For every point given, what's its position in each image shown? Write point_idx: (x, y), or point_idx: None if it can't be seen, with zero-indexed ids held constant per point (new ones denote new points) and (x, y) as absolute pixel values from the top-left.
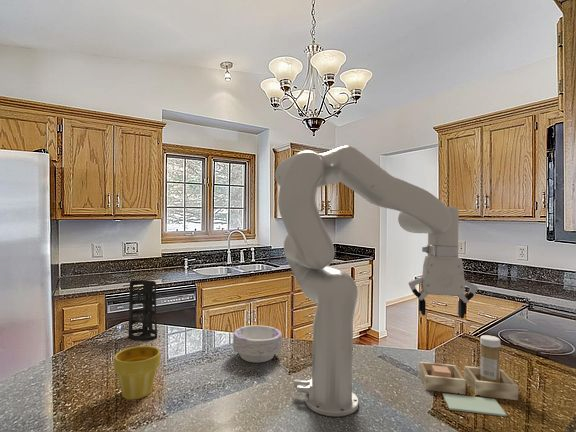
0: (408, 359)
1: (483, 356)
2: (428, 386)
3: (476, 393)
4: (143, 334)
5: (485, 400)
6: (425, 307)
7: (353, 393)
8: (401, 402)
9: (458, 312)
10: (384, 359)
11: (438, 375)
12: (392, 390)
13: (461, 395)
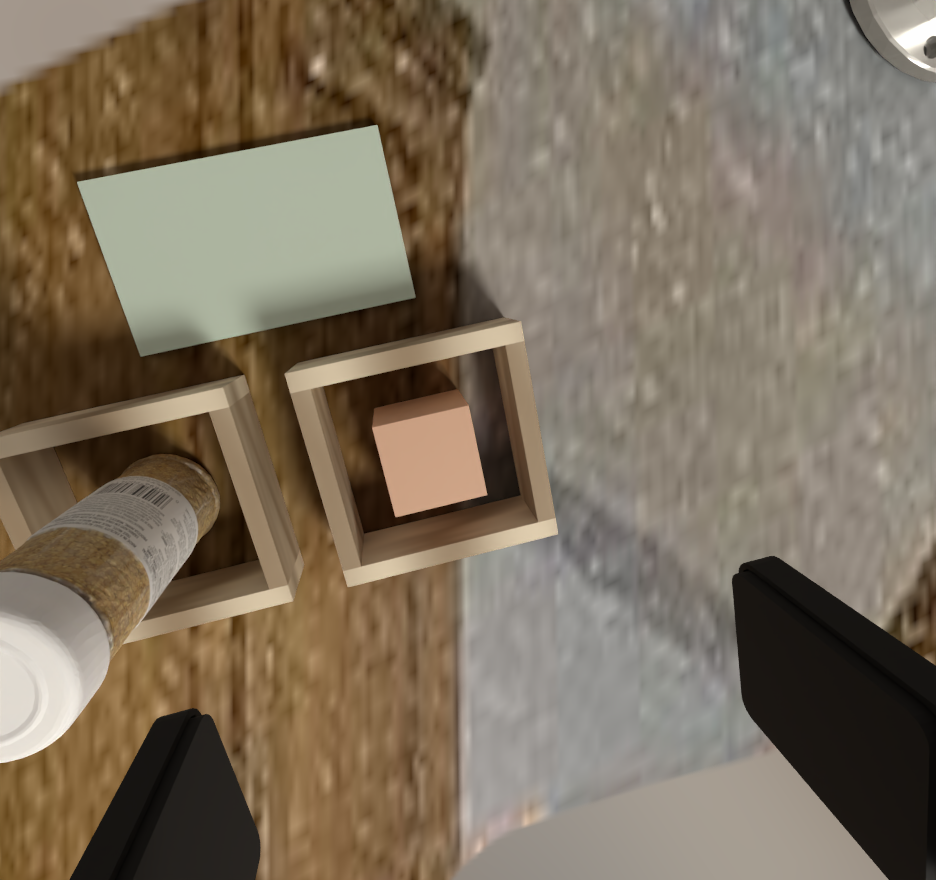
0: (594, 666)
1: (125, 550)
2: (491, 321)
3: (237, 376)
4: None
5: (190, 314)
6: (818, 636)
7: (883, 16)
8: (621, 100)
9: (245, 867)
10: (716, 602)
11: (443, 405)
12: (668, 228)
13: (316, 317)
